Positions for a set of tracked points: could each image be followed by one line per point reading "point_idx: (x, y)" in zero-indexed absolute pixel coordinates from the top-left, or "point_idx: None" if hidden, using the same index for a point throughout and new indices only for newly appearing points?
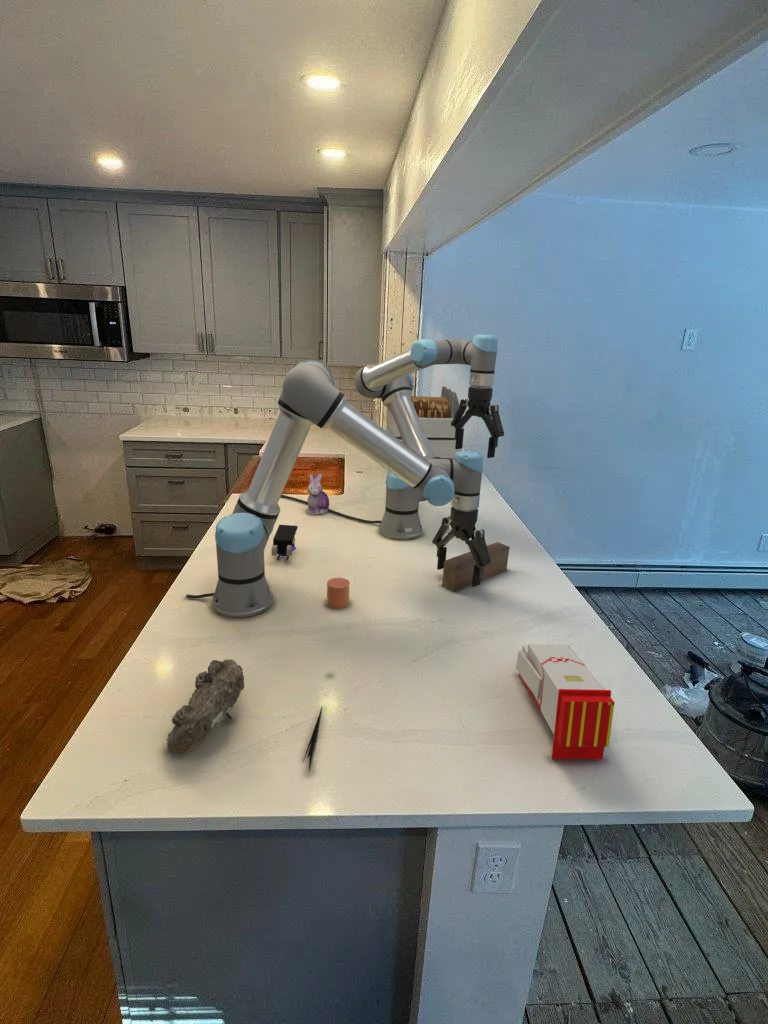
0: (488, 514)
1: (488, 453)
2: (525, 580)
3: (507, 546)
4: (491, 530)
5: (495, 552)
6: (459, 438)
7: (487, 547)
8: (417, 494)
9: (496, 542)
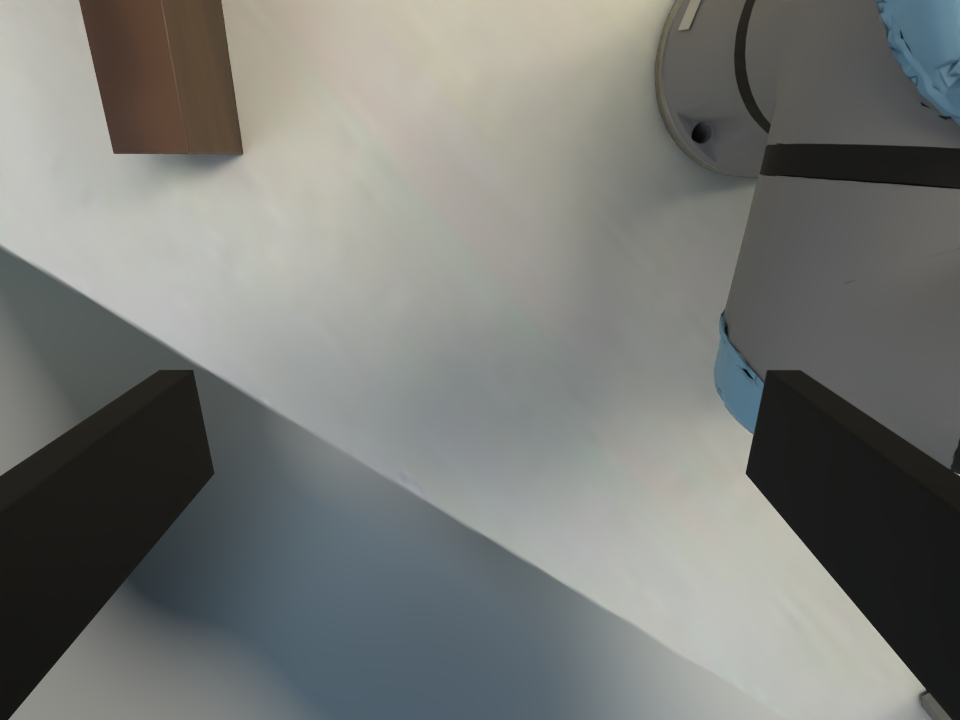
0: (624, 541)
1: (134, 395)
2: (76, 142)
3: (119, 146)
4: (506, 427)
5: (86, 26)
6: (863, 495)
7: (149, 37)
8: (796, 40)
9: (184, 140)
